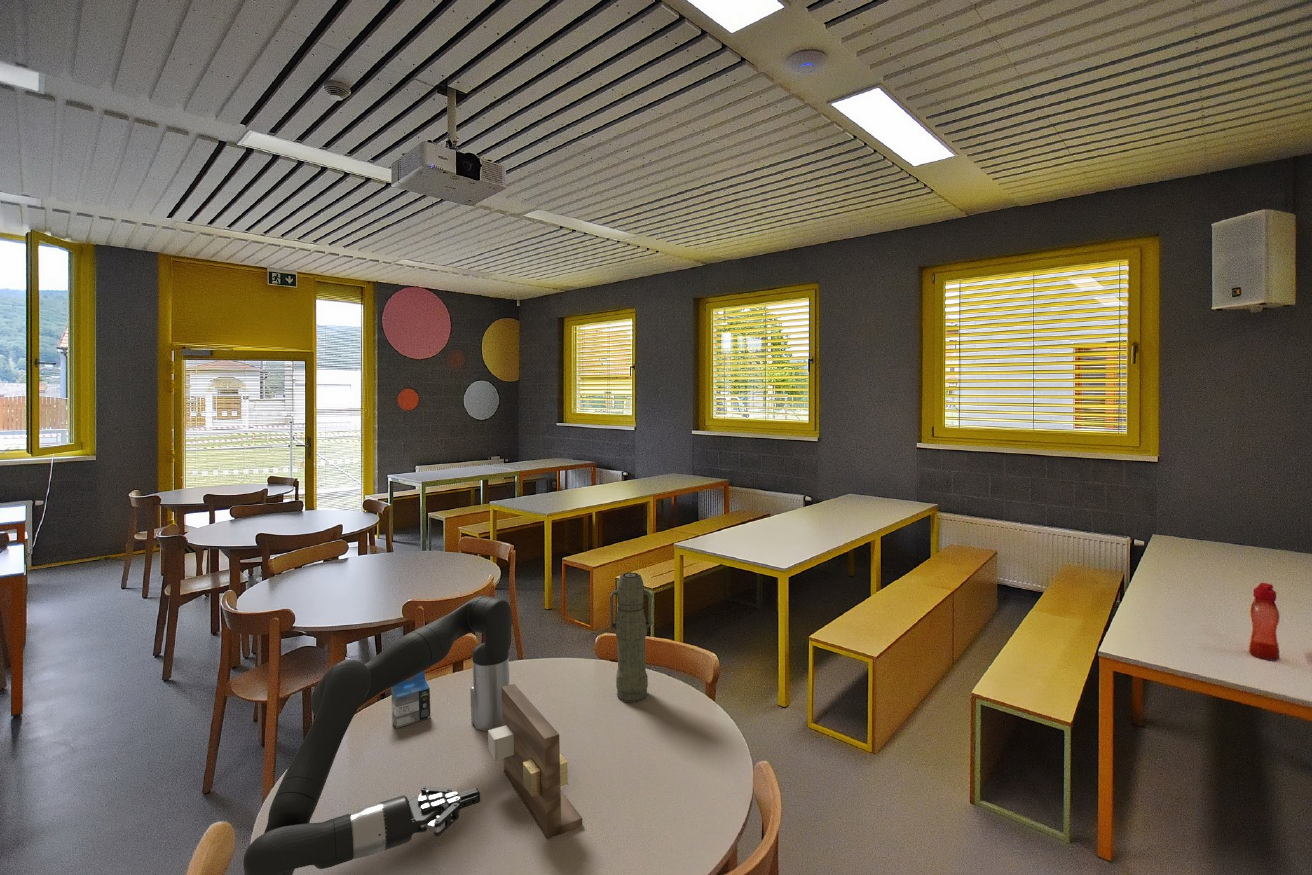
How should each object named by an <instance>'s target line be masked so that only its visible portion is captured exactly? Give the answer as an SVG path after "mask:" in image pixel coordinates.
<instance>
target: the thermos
mask: <svg viewBox="0 0 1312 875" xmlns="http://www.w3.org/2000/svg"><path fill="white" fill-rule="evenodd" d="M645 595H646V596H647V603H648V604H647V607H648V608H647V611H648V612H647V614H646V610H645V605H644V602H645ZM614 596H616V597H617V612H616V614H615V622H614ZM652 598H653V595H652V593H651V592H650V591H649V590H647V589H645V585H644V581H643V578H642V575H641V574H639V573H637V572H633V571H632V572H624V573H622V574H621V575H619V578H618V581H617V585H616V589H615V590H612V592H611V593H610V594H609V618H610V620H609V622H610V628H611V629H612V628H613V629H614V630H615V637H616V638H617V671H616V677H615V679H616V680H615V682H616V683H615V684H616V685H615V686H616V689H617V692H616V697H618V698H617V699H618V700H619V699H620V700H619V701H621V702H624V701H625V702H624V703H629V704H630V703H631V704H632V703H638V701H639V702H642V701H644V700H645V699H646V698H647V697H648V687H649V686H648V685H649V682H648V680H649V678H648V673H647V670H646V666H647V665H646V660H647V659H646V637H647V634H648V630H647V629H648V628H650V627H651V626H652V625H653V620H652V609H653V605H652V604H653V599H652ZM647 616H648V617H647ZM647 618H648V620H647ZM643 699H644V700H643Z"/></svg>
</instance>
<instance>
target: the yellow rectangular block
mask: <svg viewBox="0 0 1312 875" xmlns="http://www.w3.org/2000/svg"><path fill="white" fill-rule="evenodd" d="M568 772H569V771H568V760H567V759H566V758H565V757H564V756H563V754H561V753H560V788H561V787H563V786H566V785H569V778H568V777H569V775H568ZM523 785H524V786H525V788H526V789H527V791H528V792H529V794H530V795H531V797H532V796H535V795H538V794H541V793H542V787H541V769H540V768H539V766H538V765H537V764H536V762H535V761H534V760H533V759H532V760H529V761H526V762H523Z"/></svg>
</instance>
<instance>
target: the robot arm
mask: <svg viewBox="0 0 1312 875" xmlns="http://www.w3.org/2000/svg"><path fill="white" fill-rule="evenodd" d="M512 619H513V613H512V608H511V605H510V603H509V602H508V601H507V600H506V599H503V598H497V597H492V596H486V595H479V596H475V597H473V598H471V599H470V600H468V601H467V602H465V603H464V604H462V605H461V606H459V607H458V608H456V609H455V610H453V611H452V612H449V613H448V614H446V615H444V616H442V617H440V618H437V619H436V620H433V621H432V622H430V623H427V624H426V625H423V626H420V627H418V628H417V629H415V630H413V631H410V632H408V633H407V634H404V635H402V636H401V637H400V638H398V639H397V640H395V641H394V642H393V643H391V644H390V645H389V646H387V647H386V648H384V650H382V651H381V652H380V653H379V654H377V655H376V656H374V657H373V658H371V659H370V660H369V661H367V662H366V663H363V662H361V661H359V660H356V659H344V660H341V661H338V662H337V663H335V664H334V665H333V666H332V667H330V668H329V669H328V670H327V671H326V673H324V675H323V676H322V678H320V680H319V682H318V683H317V684H316V685H315V687H314V688H313V691H312V694H311V698H310V701H309V702H310V704H309V705H310V709H311V711H312V713H313V714H314V716H315V717H314V720H313V722H312V724H311V726H310V728H309V730H308V732H307V733H306V736H305V737H304V738H303V741H302V743H301V744H300V746H299V748H298V749H297V752H296V753H295V755H294V757H293V758H292V760H291V762H290V764H289V766H288V768H287V770H286V771H285V773H284V775H283V777H282V780H281V782H280V785H279V786H278V789H277V791H276V792H275V796H274V797H273V799H272V803H271V805H270V807H269V812H268V816H267V817H268V818H267V824H266V827H265V830H264V833H263V834H261V835H259V836H257V837H256V838H255V839H254V840H253V841H252V842H251V843H250V844H249V845H248V847H247V848H246V851H245V853H244V856H243V864H242V865H243V871H244V872H243V873H244V875H293V874H294V872H295V870H296V869H299V868H304V867H308V866H314V867H315V868H316V869H319V870H324V869H329V868H333V867H335V866H338V865H341V864H344V863H346V862H349V861H353V860H357V859H359V858H360V859H361V858H366V857H370V856H372V855H375V854H377V853H378V854H379V853H381V852H384V851H387V850H390V849H392V848H395V847H399V846H403V845H404V844H407V843H409V842H411V840H412V836H413V835H414V834H418V833H426V832H427V831H432V832H434V833H433V834H434V837H440V836H442V835H443V833H445V832H446V831H447V830H448V829H449V828H450V827H451V826H452V825H453V824H454V823H455V822H457V820H459V818H460V811H461V810H462V809H465V808H468V807H471V806H475V805H477V804H479V803H480V802H481V792H480V790H479V789H478V787H474V788H471V789H470V788H469V789H467V790H465V791H460V792H457V791H453V789H452V788H451V787H444V786H443V787H441V786H429V785H428V786H422V787H421V788H420V790H421V791H420V794H419V795H418V796H415V797H412V798H411V799H409V798H408V797H407V796H406V795H400V796H397V797H393V798H390V799H387V800H383V801H381V802H380V801H379V802H377V803H374V804H371V805H367V806H365V807H362V808H360V809H357V810H354V811H352V812H351V813H347V814H344V815H340V816H336V817H333V818H330V819H328V820H325V821H322V822H311V819H312V817H313V815H314V813H315V810H316V808H317V806H318V803H319V800H320V798H321V795H322V793H323V790H324V787H325V786H326V783H327V780H328V777H329V774H330V772H331V769H332V767H333V764H334V761H335V759H336V756H337V753H338V751H339V748H340V747H341V744H342V741H343V739H344V737H345V736H346V732H347V731H348V728H349V727H350V724H351V722H352V720H353V718H354V717H355V715H356V713H357V712H358V710H359V709H360V708H361V707H362V706H363V705H366V704H367V703H368V702H369V701H371V700H372V699H374V698H375V697H376V696H378V695H380V694H381V693H383V692H384V691H386V690H389V689H390V688H391V689H392V687H393V686H395V685H397V684H399V683H401V682H403V681H406V680H409V679H412V678H414V676H415V675H417V674H418V673H420V672H422V671H424V672H425V671H426V670H428V669H430V668H431V667H433V666H435V665H436V664H438V663H440V662H441V661H442V660H444V659H445V658H446V657H447V656H448V654H449V653H450V651H451V649H452V647H453V645H454V642H456V641H457V640H459V639H460V638H462V637H464V636H466V635H468V634H473V633H479V634H484V635H485V639H484V642H482V643H481V644H479V645H478V644H477V645H476V646H475V647H474V648H473V650H472V653H471V657H472V658H471V659H472V660H471V661H472V687H470V716H471V718H470V719H471V720H470V721H471V724H473V725H474V728H475V729H477V730H480V731H483V732H488V730H491V729H495V728H498V727H502V689H501V687H503V686H507V685H511V683H510V656H509V655H510V654H509V653H510V648H511V644H512V631H513V630H512V629H513V628H512V627H513V626H512V625H513V624H512V623H513V620H512Z"/></svg>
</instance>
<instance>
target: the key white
mask: <svg viewBox="0 0 1312 875" xmlns="http://www.w3.org/2000/svg"><path fill="white" fill-rule="evenodd" d="M487 738H488V743H487V744H488V752H489V754H490V755H491V756H492V758H493V760H494V762H495V761H498V760H502V759H503V758H505V757H509V756H512V755H514V733H513V732H512V731H511V729H510V728H509V727H508V725H505V726H502V727H498V728H495V729H491V730H488V731H487Z"/></svg>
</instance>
